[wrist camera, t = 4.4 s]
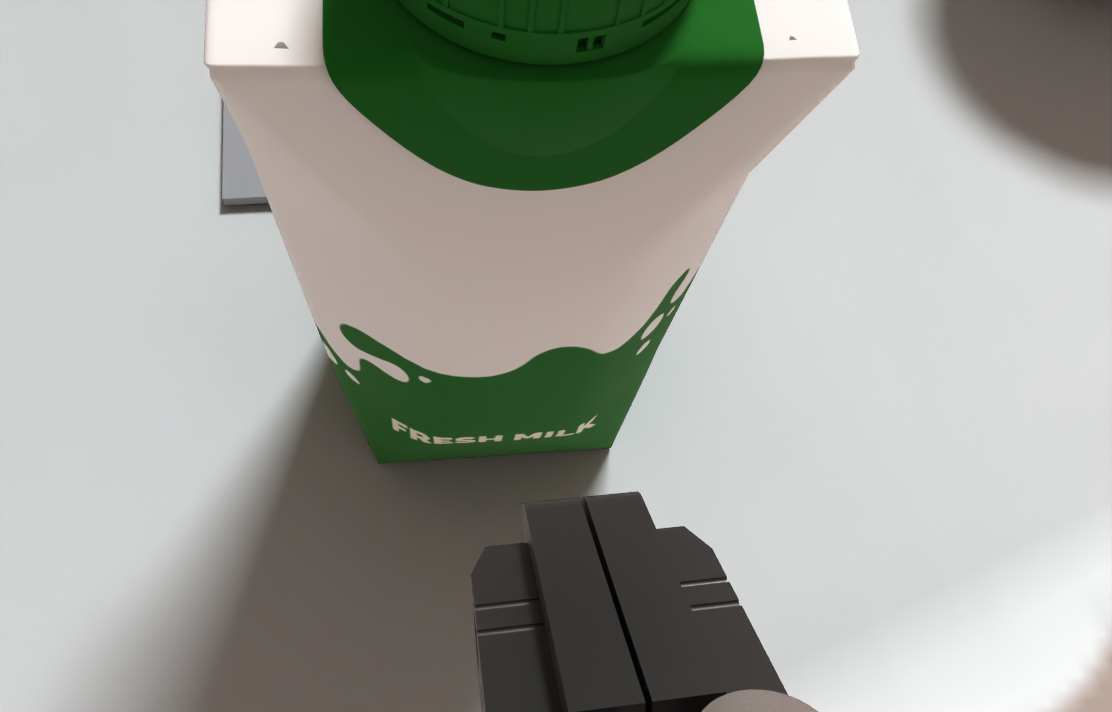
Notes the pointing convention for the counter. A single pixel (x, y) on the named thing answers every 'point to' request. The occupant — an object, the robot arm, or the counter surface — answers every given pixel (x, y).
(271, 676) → the counter surface
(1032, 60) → the counter surface
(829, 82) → the milk carton
